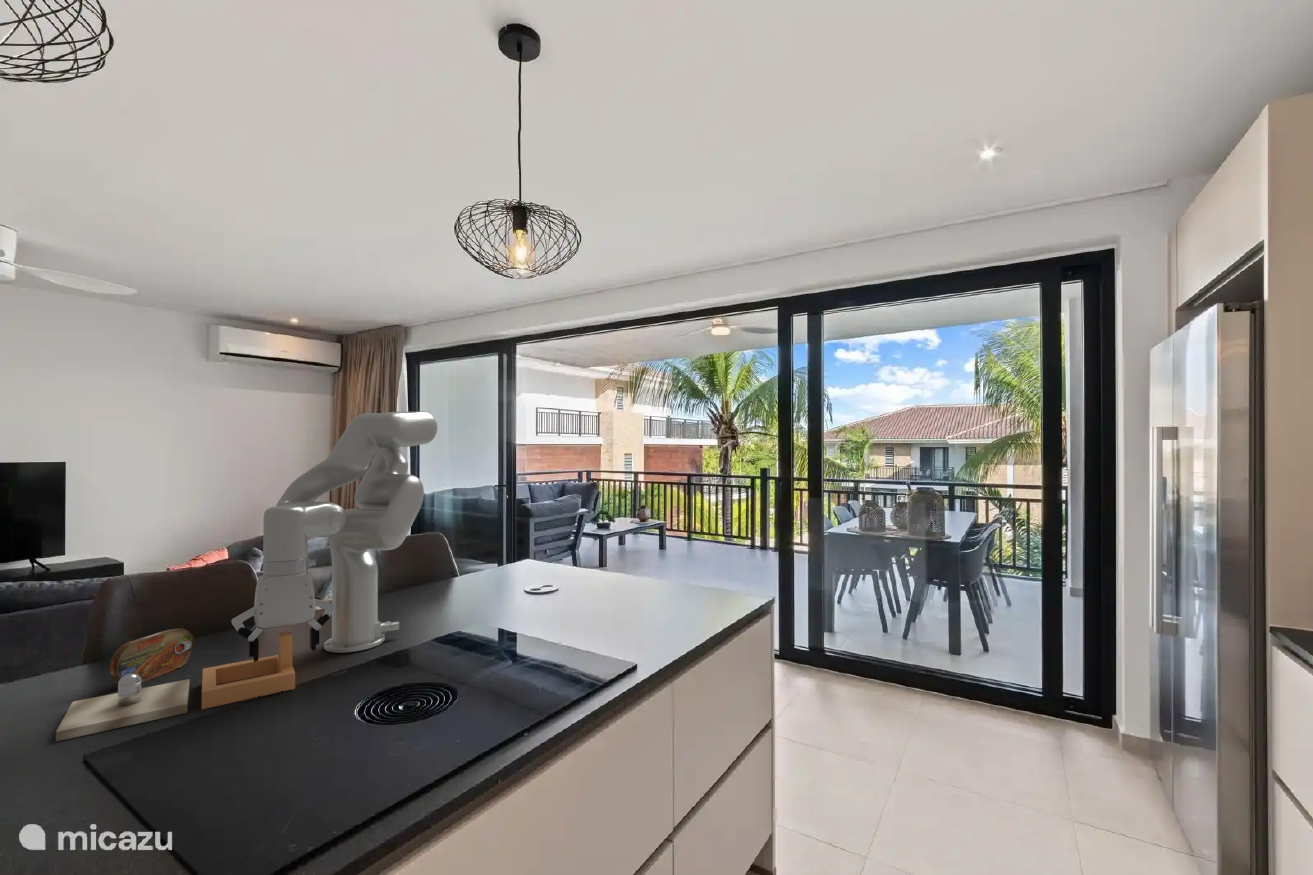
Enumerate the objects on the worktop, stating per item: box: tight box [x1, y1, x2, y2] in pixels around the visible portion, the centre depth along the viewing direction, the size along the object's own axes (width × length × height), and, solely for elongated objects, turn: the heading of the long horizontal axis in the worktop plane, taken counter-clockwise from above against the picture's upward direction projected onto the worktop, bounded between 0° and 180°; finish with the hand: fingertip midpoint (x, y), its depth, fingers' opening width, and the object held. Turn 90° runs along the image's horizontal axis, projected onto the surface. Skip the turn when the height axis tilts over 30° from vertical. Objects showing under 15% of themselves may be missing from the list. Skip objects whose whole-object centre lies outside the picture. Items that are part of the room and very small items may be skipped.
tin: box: [108, 628, 196, 684], centre depth 117 cm, size 15×3×8 cm, turn 168°
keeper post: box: [117, 673, 142, 707], centre depth 101 cm, size 3×3×5 cm
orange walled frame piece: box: [201, 629, 296, 710], centre depth 111 cm, size 14×14×9 cm
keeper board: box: [55, 678, 191, 742], centre depth 101 cm, size 16×14×2 cm
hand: (285, 654), depth 115 cm, fingers open, 9 cm apart
